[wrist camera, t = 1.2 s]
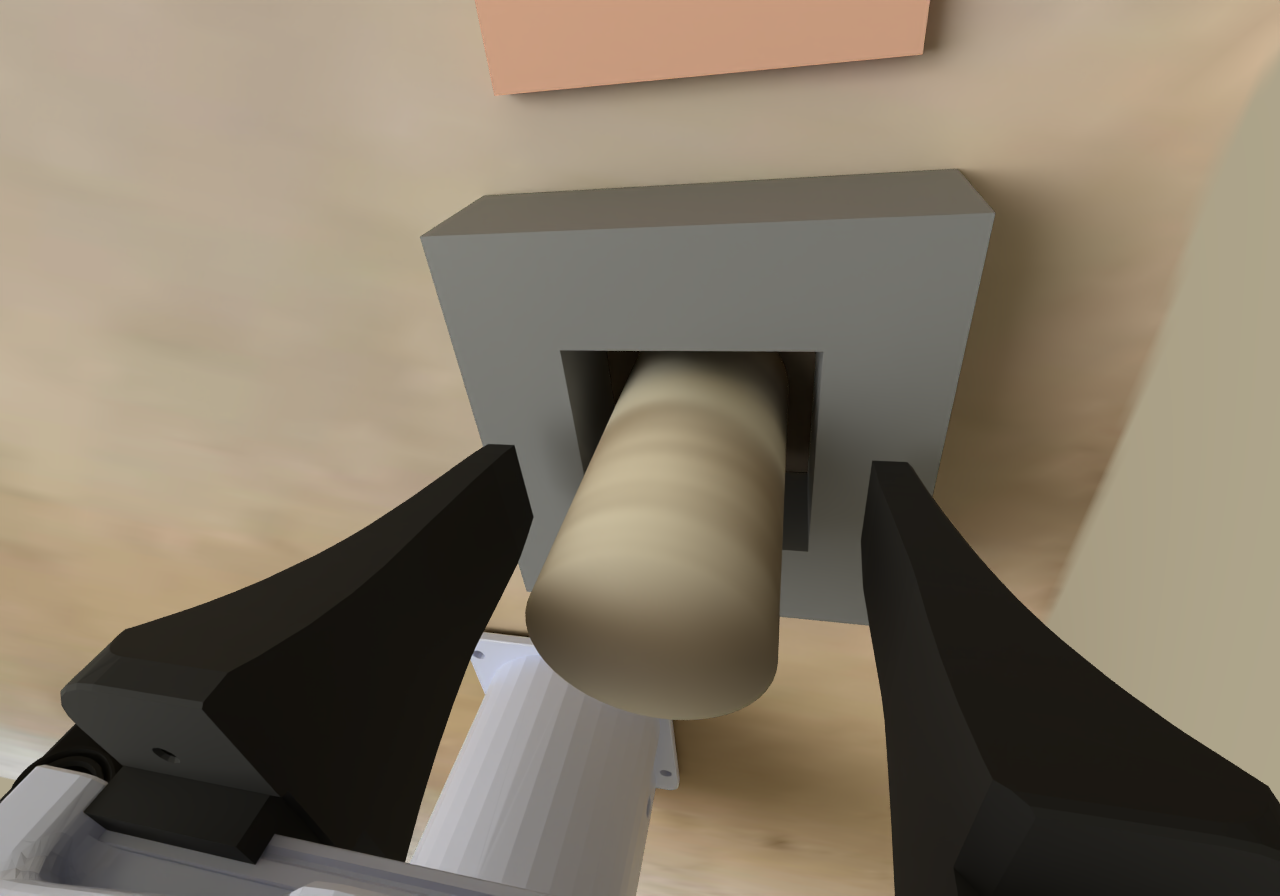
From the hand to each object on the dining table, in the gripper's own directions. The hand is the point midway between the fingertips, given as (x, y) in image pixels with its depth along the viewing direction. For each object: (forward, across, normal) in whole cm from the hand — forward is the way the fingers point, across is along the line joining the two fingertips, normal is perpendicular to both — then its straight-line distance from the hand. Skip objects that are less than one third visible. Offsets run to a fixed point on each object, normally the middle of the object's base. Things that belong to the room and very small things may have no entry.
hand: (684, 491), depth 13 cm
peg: (+4, 0, 0) cm, 4 cm away
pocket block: (+4, 0, 0) cm, 4 cm away
